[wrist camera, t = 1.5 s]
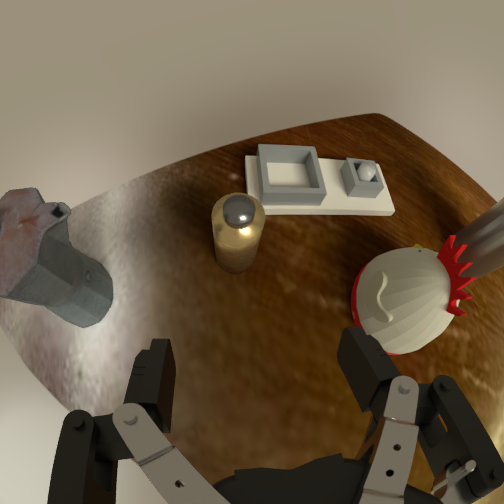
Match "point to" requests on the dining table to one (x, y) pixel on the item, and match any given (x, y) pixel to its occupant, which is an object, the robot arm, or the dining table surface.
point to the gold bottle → (237, 231)
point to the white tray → (315, 183)
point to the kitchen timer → (409, 295)
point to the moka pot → (48, 261)
